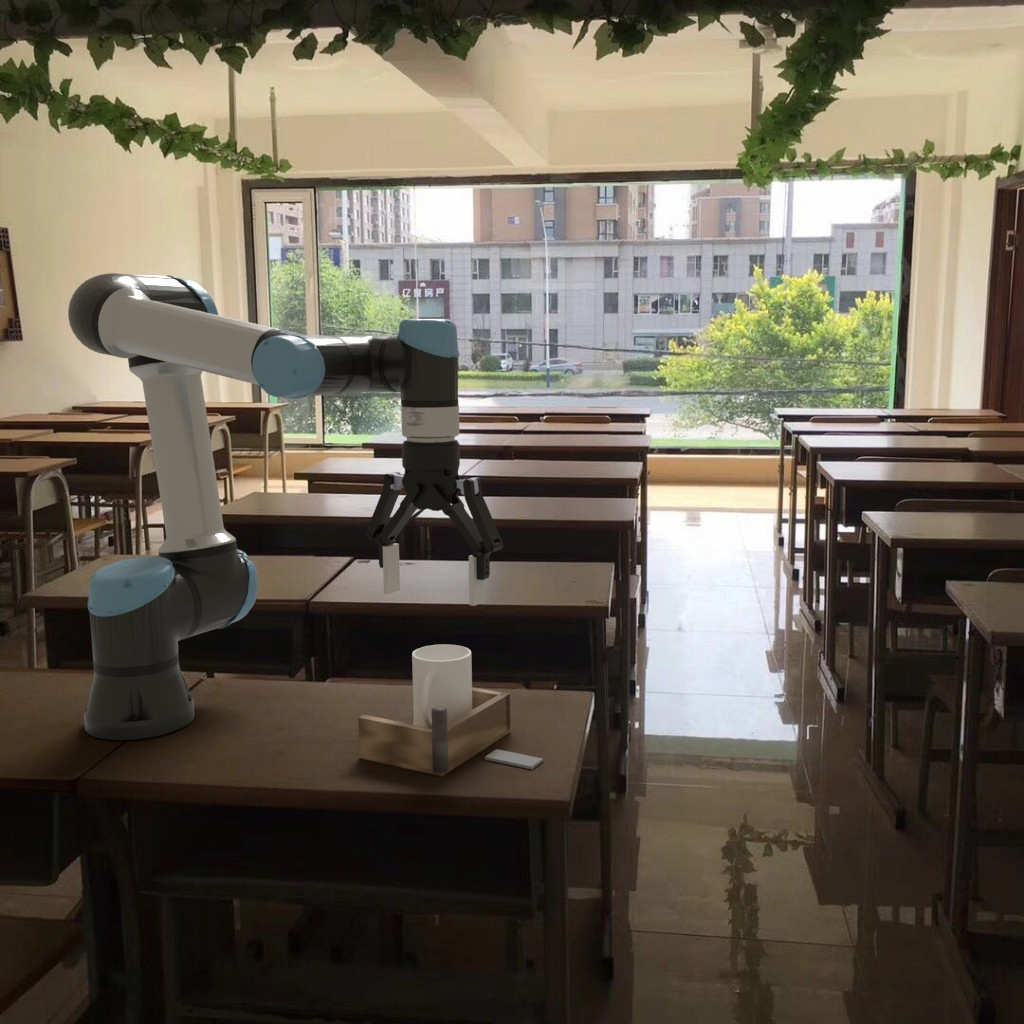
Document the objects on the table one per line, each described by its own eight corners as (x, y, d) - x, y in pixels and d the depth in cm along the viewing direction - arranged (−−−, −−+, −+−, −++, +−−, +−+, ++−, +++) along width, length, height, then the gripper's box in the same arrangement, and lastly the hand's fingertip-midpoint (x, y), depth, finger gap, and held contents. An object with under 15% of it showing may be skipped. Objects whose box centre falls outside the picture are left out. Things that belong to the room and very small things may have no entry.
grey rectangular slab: (485, 759, 141) (485, 756, 141) (496, 751, 144) (496, 749, 144) (531, 769, 138) (531, 766, 138) (542, 761, 141) (542, 758, 141)
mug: (450, 760, 140) (448, 671, 138) (391, 752, 143) (388, 665, 141) (483, 729, 151) (482, 646, 149) (428, 722, 154) (426, 641, 152)
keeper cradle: (357, 758, 142) (355, 696, 141) (433, 717, 158) (431, 660, 156) (442, 778, 136) (441, 712, 134) (512, 732, 151) (512, 673, 150)
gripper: (336, 437, 143) (341, 593, 146) (499, 445, 131) (500, 614, 134) (370, 433, 149) (374, 582, 153) (528, 440, 137) (529, 602, 141)
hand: (433, 597), depth 144 cm, fingers open, 13 cm apart
